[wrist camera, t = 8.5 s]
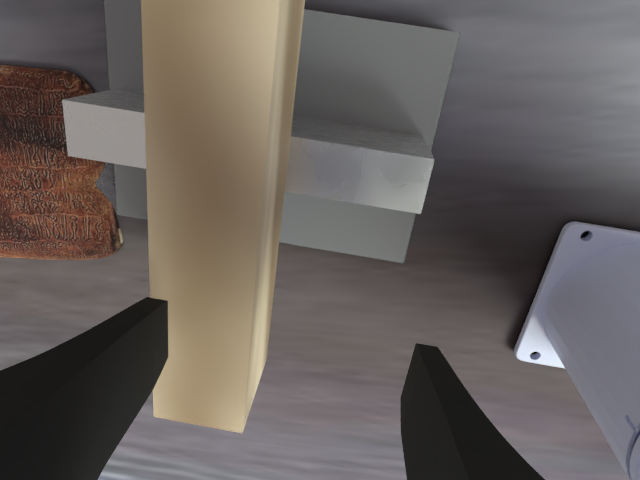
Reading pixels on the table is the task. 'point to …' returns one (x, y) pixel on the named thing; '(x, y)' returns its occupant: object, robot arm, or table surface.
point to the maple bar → (216, 192)
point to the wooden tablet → (48, 174)
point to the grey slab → (324, 113)
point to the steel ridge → (303, 160)
